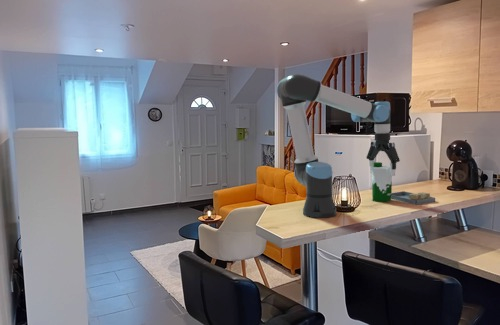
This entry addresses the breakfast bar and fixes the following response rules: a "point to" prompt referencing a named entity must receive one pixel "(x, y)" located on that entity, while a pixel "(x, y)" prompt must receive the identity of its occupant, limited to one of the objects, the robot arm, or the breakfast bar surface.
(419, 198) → the oak block
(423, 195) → the oak block
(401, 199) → the tray
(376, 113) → the robot arm
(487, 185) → the breakfast bar surface
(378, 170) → the soya milk
